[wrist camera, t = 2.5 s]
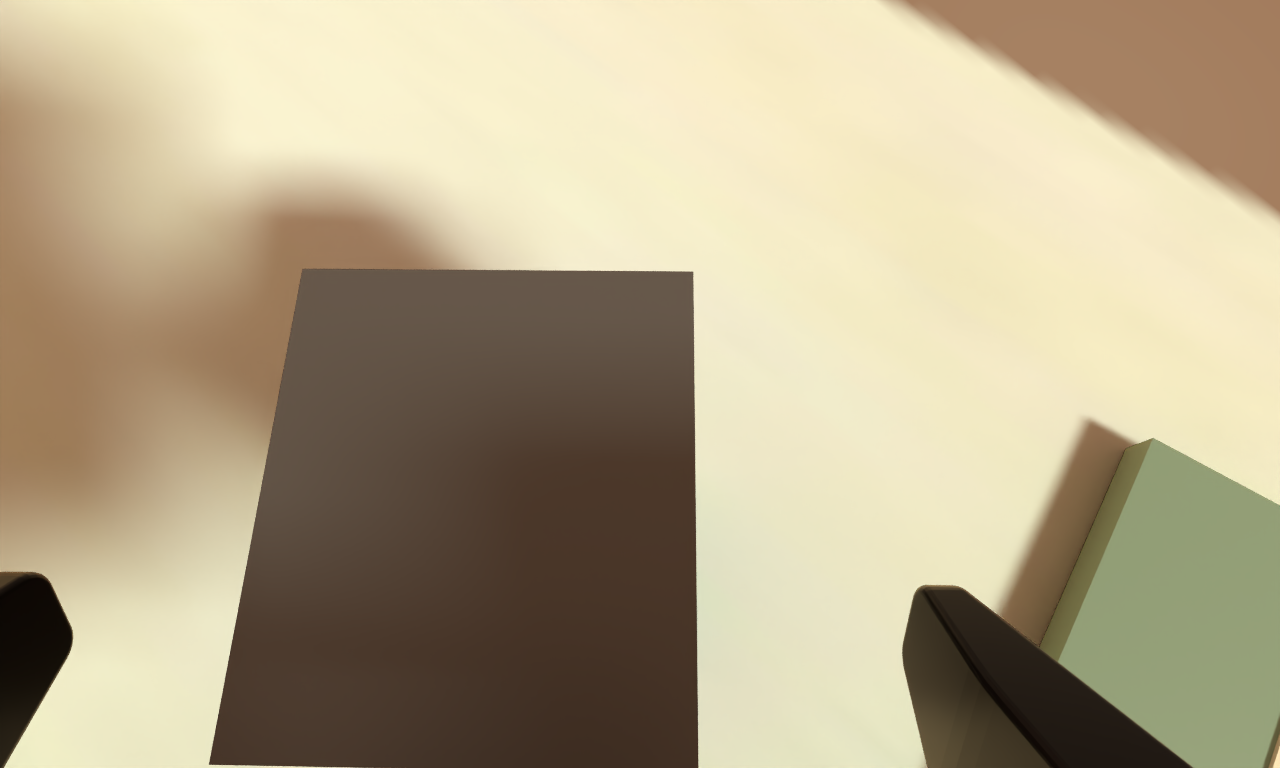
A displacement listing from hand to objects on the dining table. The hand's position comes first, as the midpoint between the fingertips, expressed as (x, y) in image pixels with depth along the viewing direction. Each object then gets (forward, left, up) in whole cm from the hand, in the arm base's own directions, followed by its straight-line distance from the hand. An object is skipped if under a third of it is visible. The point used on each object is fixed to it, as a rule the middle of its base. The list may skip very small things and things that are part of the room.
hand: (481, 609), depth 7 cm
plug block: (+1, 0, -9) cm, 9 cm away
